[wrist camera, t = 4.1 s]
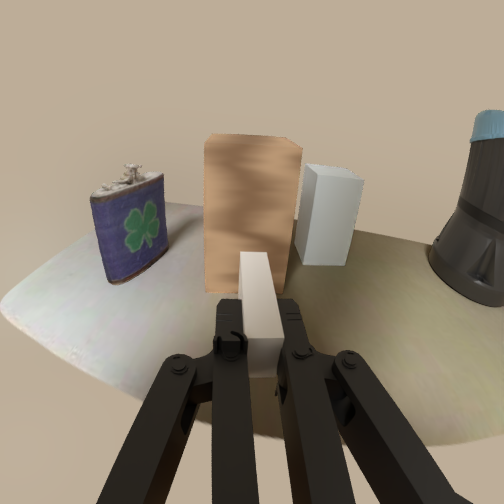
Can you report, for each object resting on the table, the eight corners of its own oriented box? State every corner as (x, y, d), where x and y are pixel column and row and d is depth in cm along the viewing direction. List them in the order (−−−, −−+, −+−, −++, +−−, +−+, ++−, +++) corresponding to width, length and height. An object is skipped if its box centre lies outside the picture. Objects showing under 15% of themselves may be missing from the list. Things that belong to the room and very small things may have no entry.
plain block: (273, 254, 31) (285, 137, 25) (282, 293, 25) (302, 148, 19) (210, 253, 31) (212, 133, 24) (205, 292, 25) (204, 143, 18)
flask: (157, 242, 32) (151, 153, 27) (176, 248, 31) (172, 155, 26) (101, 280, 25) (81, 175, 19) (120, 290, 24) (100, 177, 18)
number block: (331, 243, 35) (345, 167, 30) (344, 265, 30) (364, 180, 25) (293, 242, 34) (304, 163, 29) (302, 264, 30) (317, 174, 25)
